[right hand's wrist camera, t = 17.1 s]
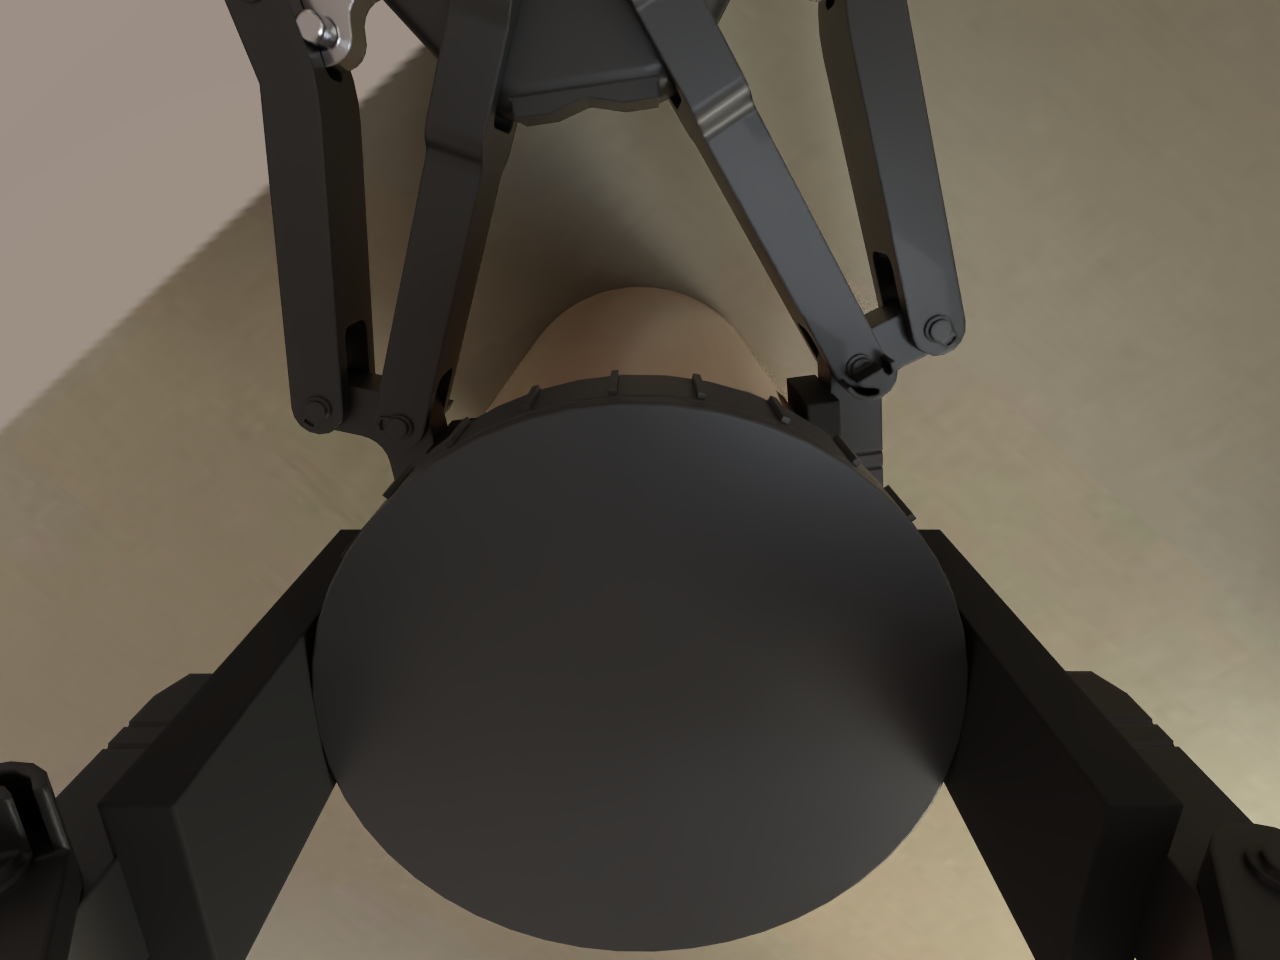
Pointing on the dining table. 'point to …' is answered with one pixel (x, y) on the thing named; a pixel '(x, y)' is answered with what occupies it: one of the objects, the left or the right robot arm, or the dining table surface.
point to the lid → (639, 666)
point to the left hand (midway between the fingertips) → (661, 631)
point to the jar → (639, 345)
